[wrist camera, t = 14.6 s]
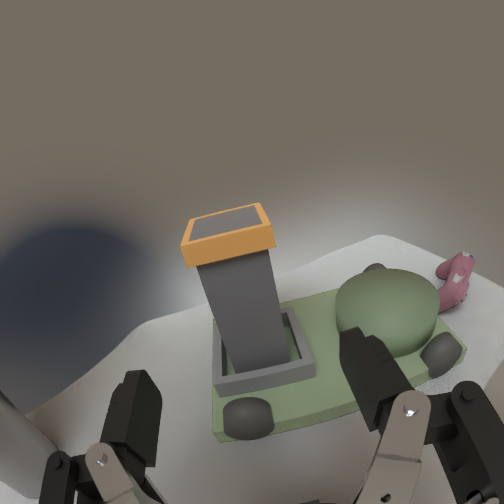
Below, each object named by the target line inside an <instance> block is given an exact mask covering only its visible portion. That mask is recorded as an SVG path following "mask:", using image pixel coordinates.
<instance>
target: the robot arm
mask: <svg viewBox="0 0 504 504" xmlns="http://www.w3.org/2000/svg"><path fill="white" fill-rule="evenodd" d="M339 359H340V365H341V368H342V371H343V373H344V375H345V377H346V379H347V382H348V384H349V386H350V388H351V390H352V393H353V395H354V397H355V399H356V402H357V404H358V406H359V408H360V411H361V413H362V415H363V417H364V420H365V422H366V424H367V427H368V429H369V431H370V432H371V431H374V430H377V429H378V431H379V433H380V435H381V437H380V440H379V443H378V445H377V448H376V451H375V453H374V456H373V459H372V461H371V464H370V466H369V469H368V471H367V473H366V476H365V478H364V480H363V482H362V484H361V486H360V488H359V491H358V493H357V495H356V497H355V499H354V501H353V503H352V504H409V502H410V500H411V497H412V494H413V491H414V488H415V485H416V482H417V479H418V476H419V473H420V469H421V461H420V456H421V452H422V448H423V445H427V444H432V443H433V445H434V448H435V450H436V452H437V454H438V457H439V459H440V461H441V464H442V466H443V469H444V471H445V474H446V476H447V479H448V481H449V484H450V486H451V489H452V492H453V494H454V497H455V500H456V502H457V504H504V424H503V423H502V421H501V419H500V418H499V416H498V414H497V412H496V411H495V409H494V407H493V406H492V404H491V402H490V401H489V399H488V398H487V396H486V395H485V393H484V391H483V390H482V388H481V387H480V386H479V385H478V384H477V383H475V382H473V381H462V382H460V383H458V384H457V385H456V386H455V387H454V388H453V390H452V392H448V393H443V394H437V395H425V394H424V393H422V392H420V391H416V390H415V389H414V388H413V387H412V386H411V384H410V382H409V381H408V379H407V378H406V376H405V375H404V373H403V371H402V370H401V368H400V367H399V365H398V364H397V362H396V360H394V357H393V356H392V354H391V353H390V352H389V350H388V348H387V347H386V345H385V344H384V342H383V341H382V340H380V339H379V338H377V337H376V336H374V335H370V336H367V337H365V335H364V334H363V332H362V331H361V329H360V328H359V327H358V326H357V327H354V328H350V329H347V330H344V331H340V334H339ZM161 410H162V396H161V393H160V391H159V390H158V388H157V387H156V385H155V384H154V382H153V381H152V379H151V378H150V376H149V375H148V373H147V372H146V371H145V370H134V371H127V372H126V375H125V378H124V381H123V383H119V385H118V386H117V388H116V389H115V390H114V392H113V394H112V397H111V401H110V404H109V408H108V412H107V415H106V419H105V423H104V427H103V430H102V435H101V439H100V442H99V443H97V444H94V445H92V446H91V447H90V448H89V449H88V451H87V453H86V454H84V455H79V456H73V457H70V456H69V455H67V454H66V453H65V452H63V451H57V448H56V446H55V445H54V443H53V442H51V441H50V440H49V439H48V438H47V437H46V436H45V435H44V434H43V433H41V432H40V431H39V430H38V429H37V428H36V427H35V426H34V425H33V424H32V423H31V422H30V421H29V420H28V419H27V418H26V417H25V416H24V415H23V414H22V413H21V412H20V411H19V410H18V409H17V408H16V407H15V406H14V404H13V403H12V402H11V401H10V400H9V399H8V398H7V397H6V396H5V394H4V393H3V392H2V391H1V390H0V480H1V481H2V482H3V483H5V484H6V485H8V486H9V487H11V488H12V489H14V490H15V491H17V492H18V493H20V494H22V495H24V496H25V497H28V498H39V497H40V499H39V504H73V503H74V495H75V491H77V492H78V497H77V504H168V503H167V501H166V500H165V499H164V498H163V496H162V495H161V494H160V492H159V491H158V490H157V488H156V487H155V486H154V484H153V483H152V481H151V480H150V479H149V477H148V476H147V475H146V474H145V468H146V467H155V463H156V453H157V443H158V434H159V426H160V418H161ZM301 504H334V503H320V502H319V499H318V500H314V501H310V502H306V503H301Z"/></svg>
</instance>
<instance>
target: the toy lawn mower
mask: <svg viewBox="0 0 504 504" xmlns="http://www.w3.org/2000/svg"><path fill="white" fill-rule="evenodd" d="M279 306H280V311H281V316H282V322H283V327H284V332H285V337H286V342H287V347H288V353H289V358H290V362H289V363H284V364H280V365H276V366H272V367H267V368H263V369H258V370H254V371H249V372H244V373H239V374H236V373H235V371H234V368H233V366H232V363H231V361H230V358H229V356H228V353H227V350H226V348H225V345H224V343H223V340H222V337H221V335H220V332H219V329H218V327H217V324H216V321H215V319H213V364H212V418H213V434H214V435H215V436H216V438H217V439H218V441H219V442H228V441H236V440H254V439H259V438H262V437H265V436H267V435H271V434H276V433H281V432H285V431H290V430H294V429H298V428H302V427H306V426H310V425H314V424H317V423H321V422H324V421H328V420H331V419H334V418H337V417H340V416H344V415H347V414H350V413H353V412H355V411H358V410H360V408H359V406H358V404H357V402H356V399H355V397H354V395H353V393H352V390H351V388H350V386H349V384H348V382H347V379H346V377H345V375H344V373H343V371H342V368H341V365H340V359H339V334H340V331H344V330H347V329H350V328H354V327H357V326H358V327H359V328H360V329H361V331H362V332H363V334H364V335H365V337H367V336H370V335H374V336H376V337H377V338H379V339H380V340H382V341H383V342H384V344H385V345H386V347H387V348H388V350H389V352H390V353H391V354H392V356H393V357H394V360H396V362H397V364H398V365H399V367H400V368H401V370H402V371H403V373H404V375H405V376H406V378H407V379H408V381H409V382H410V384H411V386H412V387H413V388H414V387H416V386H418V385H420V384H422V383H424V382H426V381H428V380H430V379H432V378H437V377H439V376H441V375H443V374H445V373H446V372H447V371H448V370H450V369H451V368H452V367H454V366H456V365H457V364H459V363H461V362H462V360H463V358H464V356H465V353H466V351H467V347H466V346H465V345H464V344H463V343H462V341H461V340H460V339H459V338H458V337H457V336H456V335H455V334H454V333H453V332H452V330H451V329H450V328H449V327H448V326H447V325H446V324H445V323H444V322H443V321H442V320H441V319H440V318H439V317H438V312H439V307H440V297H439V294H438V292H437V290H436V288H435V287H434V285H433V284H432V283H431V282H429V281H428V280H427V279H425V278H424V277H422V276H420V275H418V274H416V273H413V272H410V271H406V270H400V269H387V268H386V267H385V266H383V265H382V264H379V263H375V264H372V265H370V266H368V267H367V268H366V269H365V270H364V271H363V273H360V274H358V275H356V276H354V277H352V278H350V279H349V280H347V281H346V282H345V283H344V284H343V285H342V286H341V287H340V288H338V289H335V290H331V291H327V292H324V293H320V294H316V295H312V296H309V297H305V298H301V299H297V300H293V301H289V302H285V303H281V304H279Z"/></svg>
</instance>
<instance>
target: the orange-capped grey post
mask: <svg viewBox="0 0 504 504" xmlns="http://www.w3.org/2000/svg"><path fill="white" fill-rule="evenodd" d="M274 247H276V245H275V240H274V235H273V230H272V225H271V223H270V221H269V219H268V217H267V215H266V214H265V212H264V210H263V208H262V206H261V204H260V203H255V204H250V205H246V206H242V207H238V208H233V209H230V210H225V211H221V212H217V213H213V214H209V215H205V216H202V217H197V218H193V219H190V220H189V223H188V226H187V229H186V231H185V234H184V237H183V240H182V243H181V250H182V253H183V256H184V259H185V262H186V265H187V268H190V267H194V266H196V267H197V270H198V273H199V276H200V279H201V282H202V285H203V287H204V290H205V293H206V296H207V299H208V302H209V305H210V307H211V310H212V313H213V316H214V319H215V321H216V324H217V327H218V329H219V332H220V335H221V337H222V340H223V343H224V345H225V348H226V350H227V353H228V356H229V358H230V361H231V363H232V366H233V368H234V371H235V373H236V374H239V373H244V372H249V371H254V370H258V369H263V368H267V367H272V366H276V365H280V364H284V363H289V362H290V358H289V353H288V347H287V342H286V337H285V332H284V327H283V322H282V316H281V311H280V306H279V301H278V296H277V291H276V286H275V281H274V277H273V271H272V266H271V262H270V257H269V252H268V249H270V248H274Z"/></svg>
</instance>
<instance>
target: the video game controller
mask: <svg viewBox="0 0 504 504" xmlns="http://www.w3.org/2000/svg"><path fill="white" fill-rule="evenodd" d="M474 263H475V259H474V258H473V256H472V255H469V254H466V253H464V251H463V252H462V253H458V254H457V255H456V256H455V257H453V258H452V259H450V260H447V261H445V262H443V263H442V264H440V265H439V266H438V267H437V269H436V275H437V276H438V277H439V278H441V279H447V281H446V283H445V285H444V286H443V287H442V288H440V289H439V290H437V292H438V294H439V297H440V307H439V312H438V313H441V312H443V311H446V310H448V309H450V308H451V307H455V306H456V305H457V304H458V303H459V302H460V301H461V303H462V302H464V301H465V300H466V299H467V294H465V293H466V291H467V289H468V286H469V283H468V279H469V277H470V274H471V272H472V268H473V266H474Z"/></svg>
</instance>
